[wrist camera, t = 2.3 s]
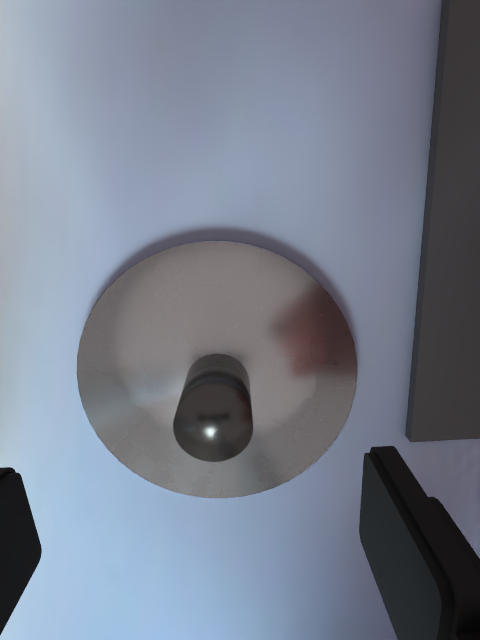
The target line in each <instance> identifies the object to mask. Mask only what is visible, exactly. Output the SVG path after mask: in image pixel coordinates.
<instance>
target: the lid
mask: <svg viewBox="0 0 480 640" xmlns="http://www.w3.org/2000/svg"><path fill="white" fill-rule="evenodd" d="M77 380H78V388H79V393H80V397H81V401H82V405H83V408H84V410H85V413H86V415H87V417H88V420H89V422H90V424H91V426H92V427H93V429H94V431H95V432H96V434H97V436H98V437H99V439H100V440H101V441H102V442H103V444H104V445H105V446H106V448H107V449H108V450H109V451H110V452H111V453H112V454H113V455H114V456H115V457H116V458H117V459H118V460H119V461H120V462H121V463H122V464H124V465H125V466H126V467H127V468H129V469H130V470H131V471H132V472H134V473H136V474H137V475H139V476H141V477H142V478H144V479H145V480H147V481H149V482H151V483H154V484H156V485H158V486H160V487H162V488H165V489H168V490H171V491H174V492H177V493H181V494H186V495H190V496H196V497H205V498H232V497H241V496H246V495H251V494H256V493H260V492H263V491H266V490H269V489H272V488H274V487H277V486H279V485H281V484H283V483H285V482H287V481H289V480H291V479H293V478H294V477H296V476H297V475H299V474H301V473H302V472H304V471H305V470H306V469H307V468H309V467H310V466H311V465H312V464H314V463H315V462H316V461H317V460H318V459H319V458H320V457H321V456H322V455H323V454H324V453H325V452H326V451H327V450H328V448H329V447H330V446H331V444H332V443H333V442H334V441H335V439H336V438H337V436H338V435H339V433H340V431H341V429H342V428H343V426H344V424H345V422H346V419H347V417H348V415H349V412H350V410H351V407H352V403H353V399H354V395H355V389H356V380H357V362H356V354H355V348H354V343H353V339H352V336H351V333H350V330H349V327H348V325H347V323H346V321H345V319H344V317H343V315H342V313H341V311H340V309H339V308H338V306H337V305H336V303H335V302H334V300H333V299H332V297H331V296H330V295H329V293H328V292H327V291H326V290H325V289H324V288H323V287H322V286H321V285H320V284H319V283H318V281H317V280H315V279H314V278H313V277H312V276H310V275H309V274H308V273H307V272H306V271H304V270H303V269H302V268H301V267H299V266H298V265H296V264H295V263H293V262H291V261H290V260H288V259H286V258H285V257H283V256H281V255H278V254H276V253H274V252H272V251H269V250H267V249H264V248H261V247H257V246H254V245H250V244H246V243H240V242H233V241H209V240H208V241H200V242H191V243H186V244H182V245H178V246H175V247H171V248H168V249H166V250H163V251H161V252H158V253H156V254H153V255H151V256H149V257H148V258H146V259H144V260H142V261H141V262H139V263H137V264H136V265H134V266H132V267H131V268H130V269H128V270H127V271H126V272H125V273H123V274H122V275H121V276H120V277H118V278H117V279H116V280H115V281H114V282H113V283H112V284H111V286H110V287H109V288H108V289H107V290H106V291H105V292H104V293H103V295H102V296H101V297H100V299H99V300H98V302H97V303H96V305H95V306H94V308H93V310H92V312H91V314H90V316H89V318H88V320H87V321H86V324H85V327H84V330H83V333H82V336H81V339H80V344H79V350H78V355H77Z"/></svg>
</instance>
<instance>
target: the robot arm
mask: <svg viewBox="0 0 480 640" xmlns="http://www.w3.org/2000/svg"><path fill="white" fill-rule="evenodd" d="M359 532H360V539H361V543H362V546H363V549H364V551H365V554H366V557H367V559H368V562H369V565H370V567H371V570H372V572H373V575H374V578H375V580H376V583H377V586H378V588H379V591H380V594H381V596H382V599H383V602H384V604H385V607H386V610H387V612H388V615H389V618H390V620H391V623H392V625H393V628H394V631H395V633H396V636H397V639H398V640H480V559H479V557H478V556H477V554H476V553H475V551H474V550H473V548H472V547H471V546H470V544H469V543H468V541H467V540H466V538H465V537H464V535H463V534H462V533H461V531H460V530H459V528H458V527H457V525H456V524H455V522H454V521H453V520H452V518H451V517H450V515H449V514H448V512H447V511H446V509H445V508H444V506H443V505H442V504H441V503H440V501H439V500H438V499H436V498H435V497H428V496H427V495H426V493H425V492H424V490H423V489H422V487H421V486H420V484H419V483H418V481H417V480H416V478H415V477H414V475H413V474H412V472H411V471H410V469H409V468H408V466H407V465H406V463H405V462H404V460H403V459H402V457H401V456H400V454H399V453H398V451H397V450H396V448H395V447H393V446H383V447H372V448H371V450H370V453H365V454H364V462H363V478H362V494H361V510H360V526H359ZM41 550H42V549H41V544H40V541H39V537H38V534H37V530H36V527H35V523H34V520H33V516H32V512H31V509H30V505H29V502H28V498H27V495H26V491H25V488H24V484H23V481H22V477H21V475H20V474H19V473H16V472H15V470H14V469H13V468H10V467H8V468H0V635H1V633H2V631H3V629H4V627H5V625H6V623H7V622H8V620H9V618H10V616H11V614H12V612H13V610H14V608H15V607H16V605H17V603H18V601H19V599H20V597H21V595H22V593H23V592H24V590H25V588H26V586H27V584H28V582H29V580H30V578H31V577H32V575H33V573H34V571H35V569H36V567H37V565H38V563H39V561H40V558H41Z"/></svg>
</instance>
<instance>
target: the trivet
mask: <svg viewBox="0 0 480 640" xmlns="http://www.w3.org/2000/svg"><path fill="white" fill-rule="evenodd" d="M406 437H407V438H408V439H409V441H410V442H421V441H440V440H459V439H478V438H480V0H443V1H442V13H441V24H440V36H439V48H438V60H437V71H436V83H435V95H434V107H433V118H432V130H431V142H430V154H429V166H428V177H427V189H426V201H425V213H424V224H423V236H422V248H421V260H420V271H419V283H418V295H417V307H416V319H415V330H414V342H413V354H412V366H411V377H410V389H409V401H408V413H407V424H406Z"/></svg>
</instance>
